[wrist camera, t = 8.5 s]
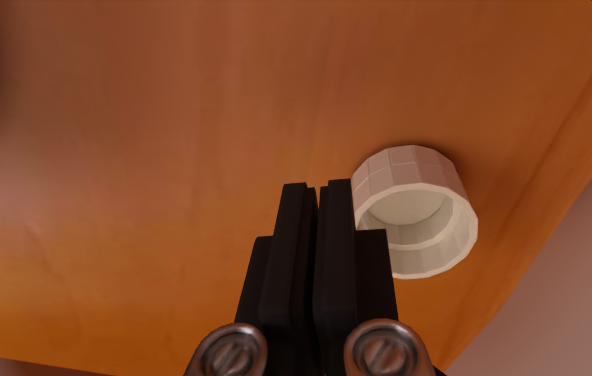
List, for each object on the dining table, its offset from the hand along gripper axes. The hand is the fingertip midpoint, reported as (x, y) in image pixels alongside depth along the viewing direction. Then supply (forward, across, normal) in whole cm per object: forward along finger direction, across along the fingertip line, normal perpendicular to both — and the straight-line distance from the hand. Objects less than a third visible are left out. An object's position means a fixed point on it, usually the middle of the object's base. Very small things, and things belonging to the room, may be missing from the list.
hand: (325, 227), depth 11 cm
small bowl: (+14, -3, +9) cm, 17 cm away
